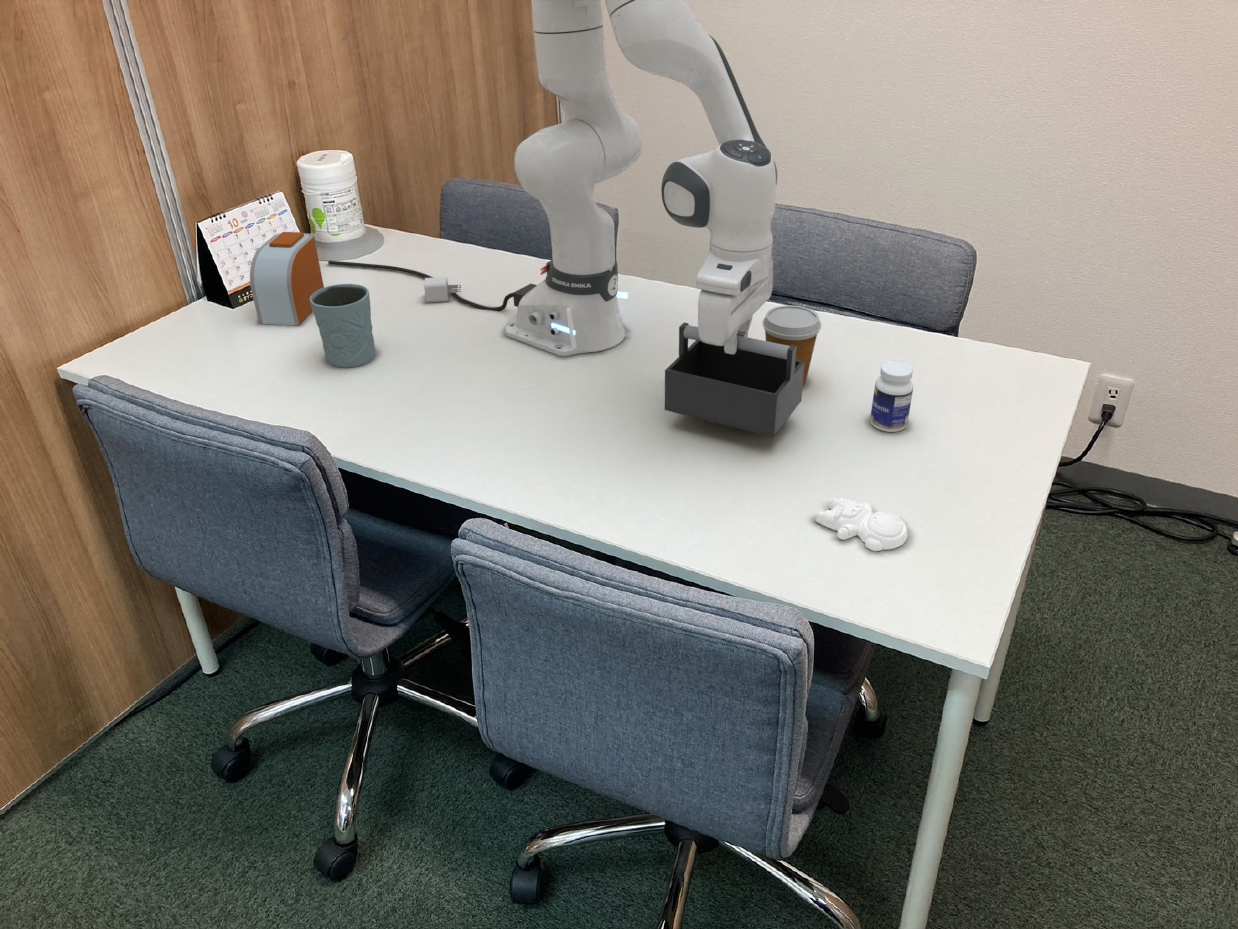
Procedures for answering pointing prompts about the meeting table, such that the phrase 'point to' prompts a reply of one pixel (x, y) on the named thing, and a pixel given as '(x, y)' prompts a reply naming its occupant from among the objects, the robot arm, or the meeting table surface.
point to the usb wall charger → (438, 289)
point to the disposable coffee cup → (793, 330)
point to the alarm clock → (285, 278)
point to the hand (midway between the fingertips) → (735, 347)
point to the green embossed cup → (344, 324)
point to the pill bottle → (892, 397)
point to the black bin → (735, 382)
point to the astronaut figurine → (863, 524)
